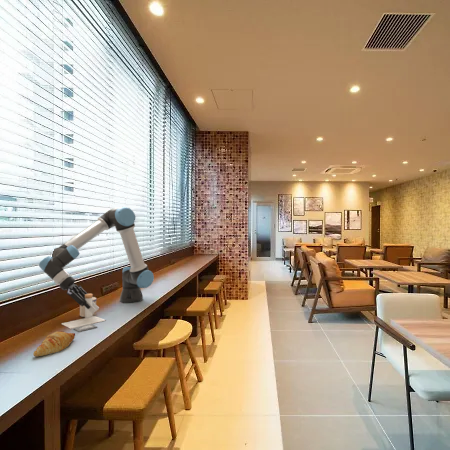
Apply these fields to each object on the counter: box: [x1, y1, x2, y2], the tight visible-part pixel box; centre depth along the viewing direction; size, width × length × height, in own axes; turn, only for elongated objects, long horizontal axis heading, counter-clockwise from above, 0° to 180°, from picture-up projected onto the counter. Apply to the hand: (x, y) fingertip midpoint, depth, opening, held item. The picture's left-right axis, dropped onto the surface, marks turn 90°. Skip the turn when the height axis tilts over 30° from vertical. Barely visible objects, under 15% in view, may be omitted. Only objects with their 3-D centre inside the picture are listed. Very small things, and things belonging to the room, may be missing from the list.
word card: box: [73, 324, 98, 333], centre depth 154 cm, size 9×6×1 cm, turn 138°
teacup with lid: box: [79, 296, 98, 318], centre depth 180 cm, size 12×9×12 cm
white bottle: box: [84, 293, 94, 318], centre depth 168 cm, size 4×4×12 cm
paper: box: [61, 315, 107, 330], centre depth 165 cm, size 18×12×1 cm, turn 138°
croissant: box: [33, 331, 76, 358], centre depth 129 cm, size 21×10×8 cm, turn 167°
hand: (96, 310), depth 168 cm, fingers closed on white bottle, 3 cm apart
